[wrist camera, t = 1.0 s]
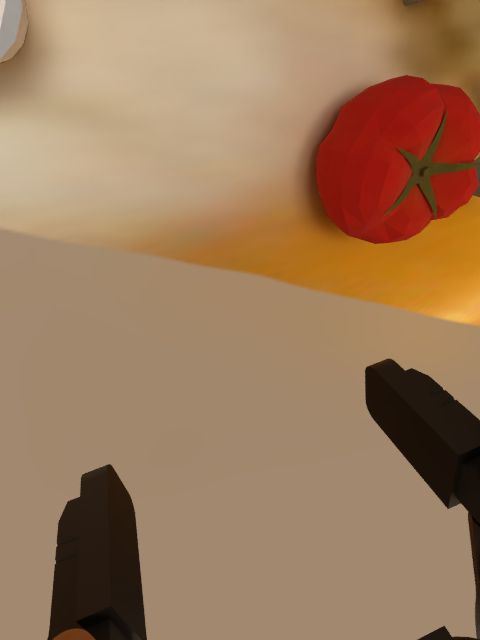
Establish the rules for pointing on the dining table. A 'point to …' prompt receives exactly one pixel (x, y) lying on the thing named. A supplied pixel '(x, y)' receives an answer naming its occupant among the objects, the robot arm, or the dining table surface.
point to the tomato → (399, 159)
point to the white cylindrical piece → (12, 27)
